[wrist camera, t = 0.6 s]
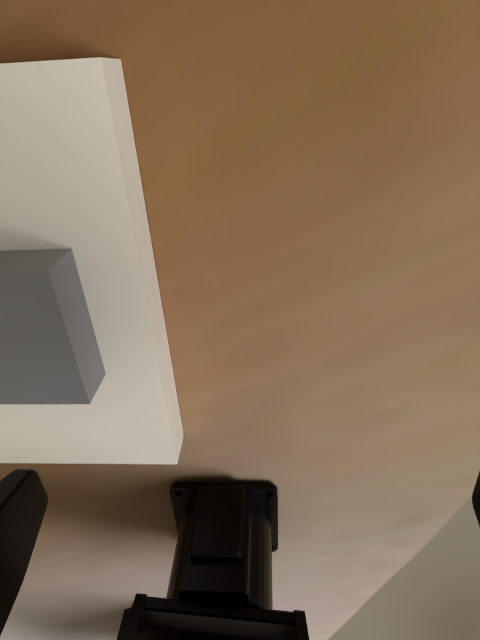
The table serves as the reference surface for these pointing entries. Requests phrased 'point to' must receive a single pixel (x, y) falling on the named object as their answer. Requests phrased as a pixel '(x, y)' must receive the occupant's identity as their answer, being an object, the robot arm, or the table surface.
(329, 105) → the table surface
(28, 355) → the slate tile
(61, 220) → the cream block
